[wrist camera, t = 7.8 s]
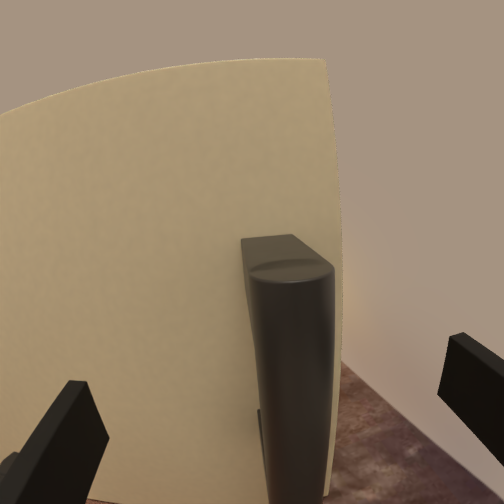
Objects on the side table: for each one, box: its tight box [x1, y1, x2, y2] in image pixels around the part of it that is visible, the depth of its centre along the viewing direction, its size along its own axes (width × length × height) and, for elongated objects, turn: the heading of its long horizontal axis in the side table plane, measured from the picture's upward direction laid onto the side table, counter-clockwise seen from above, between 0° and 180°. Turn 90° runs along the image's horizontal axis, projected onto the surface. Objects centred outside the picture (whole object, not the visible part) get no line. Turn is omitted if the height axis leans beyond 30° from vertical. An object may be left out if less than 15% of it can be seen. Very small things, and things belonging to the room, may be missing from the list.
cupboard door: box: [0, 58, 343, 504], centre depth 10 cm, size 7×26×24 cm, turn 94°
